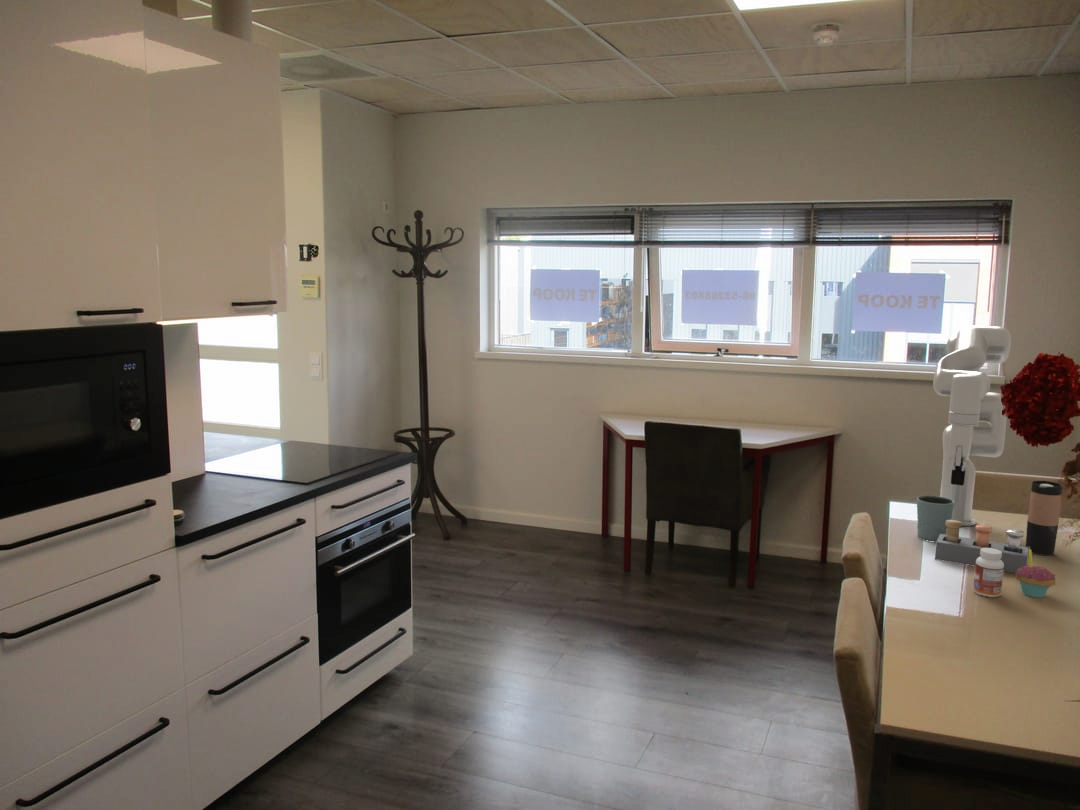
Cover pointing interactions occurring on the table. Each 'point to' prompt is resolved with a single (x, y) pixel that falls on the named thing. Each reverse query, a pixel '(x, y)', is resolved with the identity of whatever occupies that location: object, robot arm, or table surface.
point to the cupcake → (1034, 579)
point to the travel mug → (1043, 517)
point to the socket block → (978, 553)
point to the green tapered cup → (933, 516)
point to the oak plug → (952, 530)
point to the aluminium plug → (1014, 540)
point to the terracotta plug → (983, 535)
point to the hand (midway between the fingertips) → (957, 484)
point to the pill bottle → (988, 573)
